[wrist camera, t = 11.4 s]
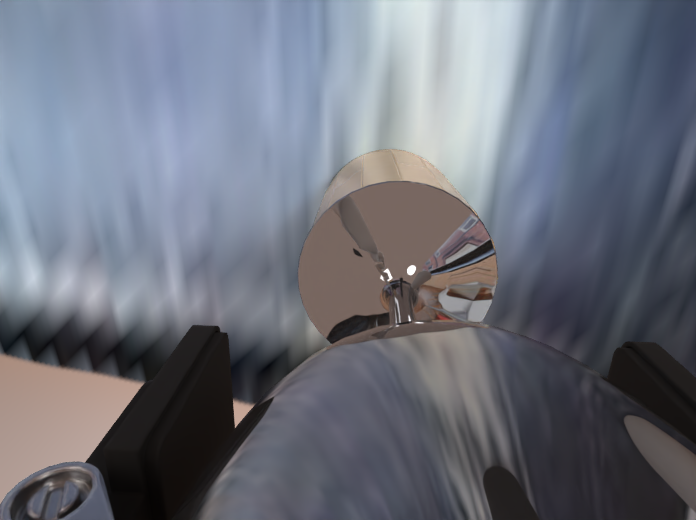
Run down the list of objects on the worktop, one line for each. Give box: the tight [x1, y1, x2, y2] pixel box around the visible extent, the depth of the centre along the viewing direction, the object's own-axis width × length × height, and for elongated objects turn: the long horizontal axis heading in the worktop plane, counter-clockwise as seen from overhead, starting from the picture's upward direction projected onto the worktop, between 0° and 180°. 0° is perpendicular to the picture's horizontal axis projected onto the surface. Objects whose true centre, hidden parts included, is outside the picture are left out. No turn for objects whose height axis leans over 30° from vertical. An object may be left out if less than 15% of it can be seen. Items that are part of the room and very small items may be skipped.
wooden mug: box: [313, 149, 498, 314], centre depth 22 cm, size 10×7×9 cm
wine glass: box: [170, 181, 696, 520], centre depth 10 cm, size 8×8×15 cm
